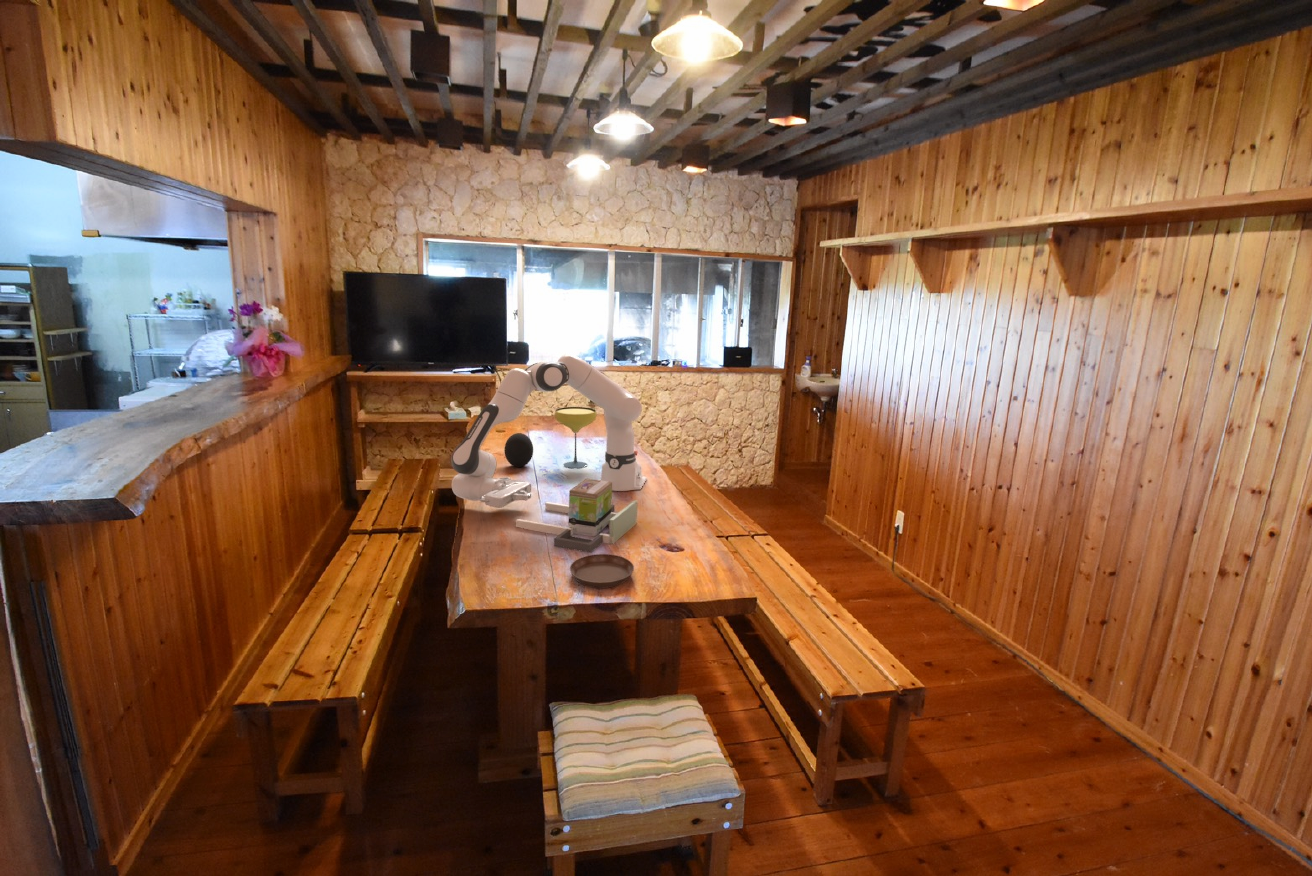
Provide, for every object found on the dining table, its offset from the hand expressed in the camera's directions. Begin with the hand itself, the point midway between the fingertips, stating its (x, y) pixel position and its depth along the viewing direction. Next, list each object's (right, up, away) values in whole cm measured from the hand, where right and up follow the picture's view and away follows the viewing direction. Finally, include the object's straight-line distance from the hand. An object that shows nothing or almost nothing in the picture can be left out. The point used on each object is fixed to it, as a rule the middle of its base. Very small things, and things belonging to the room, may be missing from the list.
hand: (529, 497), depth 218 cm
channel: (+17, -9, -4) cm, 20 cm away
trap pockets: (+20, -10, -6) cm, 23 cm away
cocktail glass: (+7, +8, +68) cm, 69 cm away
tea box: (+22, -10, -5) cm, 24 cm away
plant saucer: (+28, -19, -41) cm, 53 cm away
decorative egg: (-17, +8, +63) cm, 65 cm away
